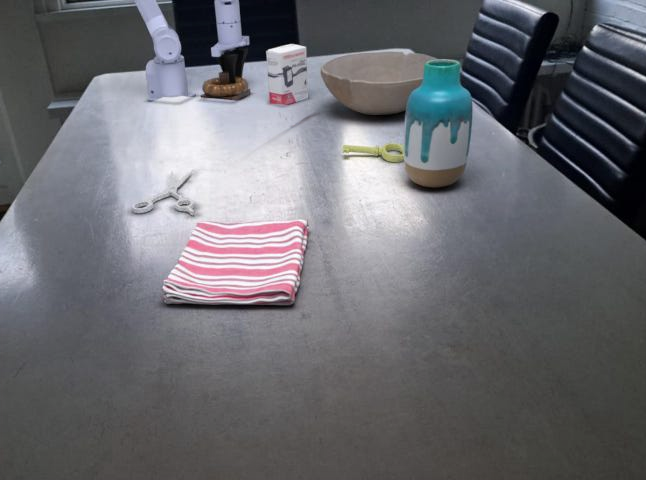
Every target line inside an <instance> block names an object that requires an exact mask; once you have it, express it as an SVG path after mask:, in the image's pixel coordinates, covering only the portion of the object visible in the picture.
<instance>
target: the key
mask: <svg viewBox="0 0 646 480" xmlns="http://www.w3.org/2000/svg"><path fill="white" fill-rule="evenodd" d="M388 151H397V152H399V153H401V154H393V153H389V152H388ZM342 153H343V154H345V153H346V154H350V153H354V154H355V153H357V154H369V155H374V156H375V157H378V156H381V158H382V159H384V161H387V162H390V163H391V162H392V163H400V162H404V145H402V144H399V143H395V142H388V143H385V144H383V145H382V147H380V146H379V145H376V146H363V145H353V144H352V145H351V144H350V145H349V144H342Z"/></svg>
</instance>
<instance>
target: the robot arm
mask: <svg viewBox="0 0 646 480" xmlns="http://www.w3.org/2000/svg"><path fill="white" fill-rule="evenodd" d="M133 2H134V4H135V6H136V8H137V10H138V11H139V13H140V15H141V18H142V20H143V22H144V23H145V27H146V28H147V30H148V32H149V34H150V37H151V39H152V44H153V50H154V53H155V57H154V58H153V59H150V60H149V61H147V63H146V66H145V79H146V86H147V91H148V92H147V93H148V97H147V101H150V102H155V101H157V100H160V99H162V98H179V97H188V98H189V97H191V98H193V97H195V96H196V95H197V93H196V92H189V87H188V86H189V85H188V79H187V78H188V77H187V71H186V65H185V57H184V55H182V53H181V52H182V44H181V41H180V37H179V35H178V33H177V32H176V30H174V29H173V28H172V27H171V26H170V25H169V23H168V21H167V20H166V18H165V15H164V14H163V12H162V9H161V8H160V6H159V4H158V1H157V0H133ZM214 10H215V11H214V13H215V20H216V30H217V31H216V32H217V40H218V41H217V43H216V44H214V46H212V47H210V52H211V53H210V54H211V57H213V58H215V60H216V61H217V63H218V65H219V66H220V68H221V72H229V82H230V84H234V83H235V77H241V78H243V73H244V66H245V62H246V58H247V55H248V54H249V48H248V47H244V46H249V45H250V36H249V35H242V34H243V33H242V23H241V14H240V13H241V12H240V1H239V0H214Z"/></svg>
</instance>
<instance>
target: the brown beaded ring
mask: <svg viewBox="0 0 646 480" xmlns="http://www.w3.org/2000/svg"><path fill="white" fill-rule="evenodd" d="M247 89H249V81H248V80H247V79H246V78H243V77H242V78H241V77H235V83H234V84H229V85H220V81H219V76H217V77H213V78H209V79H207V80H205V81H203V84H202V86H201V90H202V92H203V94H204V93H205V94H207V95H210V96H217V97H225V96H233V95H238V94H241V93H243V92H245V91H247Z"/></svg>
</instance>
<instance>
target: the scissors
mask: <svg viewBox="0 0 646 480" xmlns="http://www.w3.org/2000/svg"><path fill="white" fill-rule="evenodd" d="M193 172H194V170H191V171H190V172H189V173H187V174H186V175H185V176H183V177H182V178H181V179H180V180H178V181H177V182H176V180H175V176H174V173H173V171H171V173H170V177H169V182H168V187H167V188H166V189H165V190H164V191H162V192H161V193H160V194H158V195H153V196H152V197H151V198H150V199H145V200H141V201H138V202H135V203H133V205H132V207H131V208H132V212H133V213H135V214H144V213H147V212H149V211H152V209H154V203H155V202H157V201H159V200H162V199H165V198H168V197H170V196H171V197H173V198H175V199H177V200H176V201H175V202H173V207H174V209H175V210H176V211H178V212H187V213H188V214H189V215H190V216H195V209H194V208H195V202H194V200H192V199H190V198H184V197H183V195H182V194H178V192H177V191H178V188H179V187H181V186H182V184H184V182H186V180H188V178H189V177H190V176H191V174H192V173H193ZM183 205H184V206H183Z"/></svg>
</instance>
